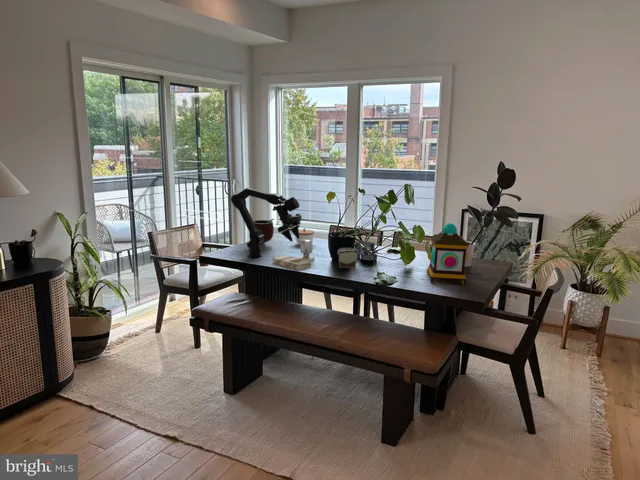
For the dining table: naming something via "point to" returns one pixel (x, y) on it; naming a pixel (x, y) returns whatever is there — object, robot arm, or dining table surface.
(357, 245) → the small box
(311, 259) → the block
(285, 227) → the robot arm
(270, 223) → the mate gourd
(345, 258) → the food container
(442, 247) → the decorative lantern
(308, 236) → the lidded bowl
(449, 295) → the dining table surface
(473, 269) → the dining table surface
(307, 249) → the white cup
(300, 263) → the plate
